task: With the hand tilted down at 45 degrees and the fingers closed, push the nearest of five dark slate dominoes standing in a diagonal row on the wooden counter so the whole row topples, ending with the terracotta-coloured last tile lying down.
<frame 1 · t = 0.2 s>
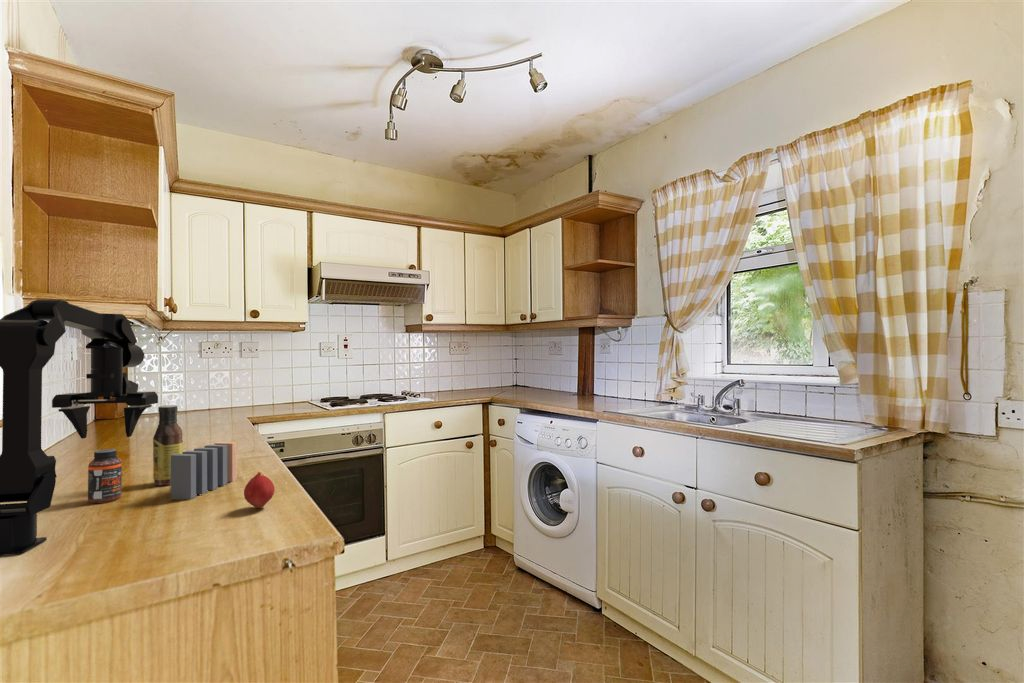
hand: (106, 437, 112), 14 cm above the counter, tool pointing down, fingers open, 9 cm apart
domino 5: (225, 481, 128), on the counter
domino 2: (195, 493, 117), on the counter
onion: (259, 509, 106), on the counter
domino 4: (215, 485, 124), on the counter
domino 3: (205, 489, 121), on the counter
supplement bottle: (105, 501, 113), on the counter
domino 1: (183, 498, 114), on the counter
sauce bottle: (168, 484, 126), on the counter
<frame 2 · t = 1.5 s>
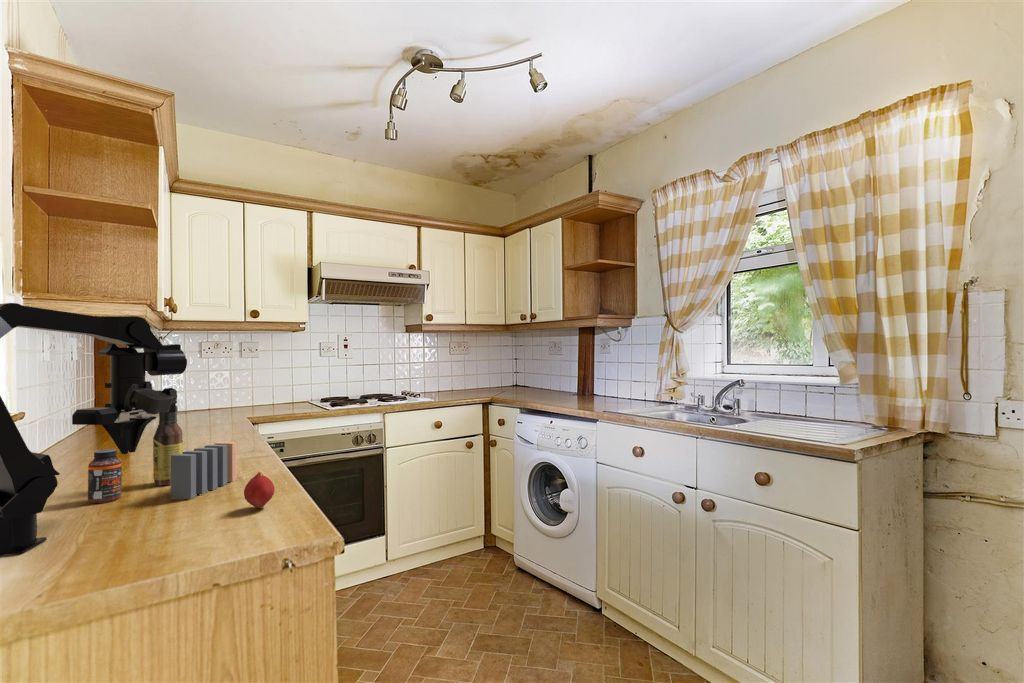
hand: (128, 453, 102), 13 cm above the counter, tool pointing down, fingers closed
nothing on the counter moved.
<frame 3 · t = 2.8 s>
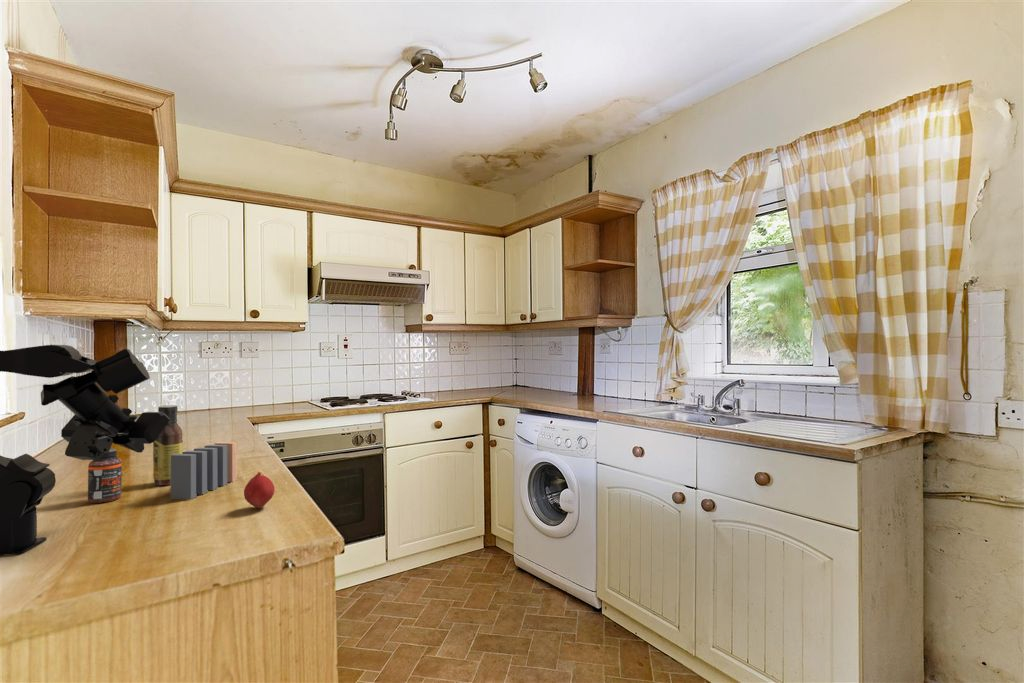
hand: (141, 450, 103), 13 cm above the counter, tool tilted 45°, fingers closed
nothing on the counter moved.
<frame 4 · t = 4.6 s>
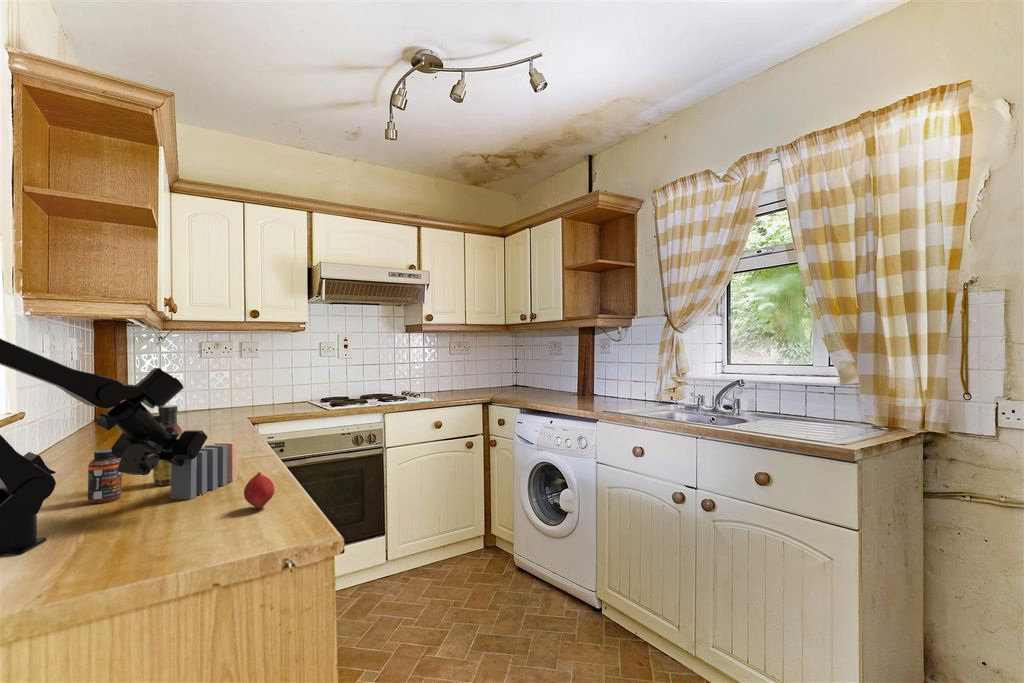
hand: (181, 464, 113), 8 cm above the counter, tool tilted 45°, fingers closed, pressing on domino 1
domino 1: (183, 498, 114), on the counter, touching gripper
everything else where it was.
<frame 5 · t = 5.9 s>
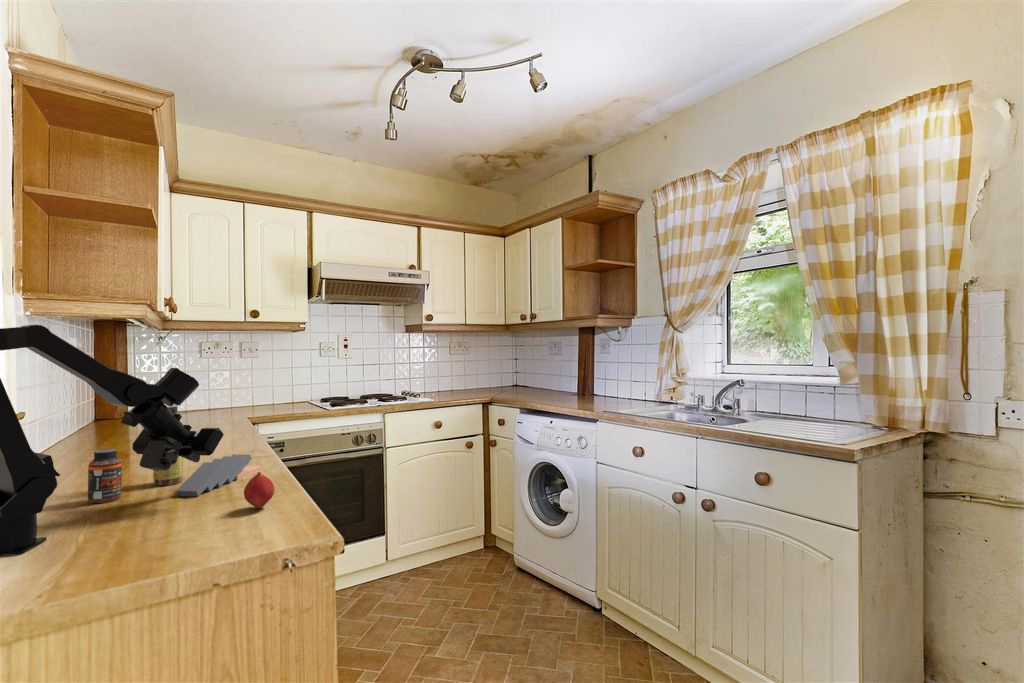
hand: (197, 460, 118), 8 cm above the counter, tool tilted 45°, fingers closed
domino 5: (228, 478, 129), on the counter, tilted 90°, touching domino 4
domino 2: (199, 488, 119), point 1 cm above the counter, tilted 64°, touching domino 1, domino 3
domino 4: (219, 480, 126), point 1 cm above the counter, tilted 67°, touching domino 3, domino 5
domino 3: (209, 484, 122), point 1 cm above the counter, tilted 64°, touching domino 2, domino 4
domino 1: (187, 493, 115), point 1 cm above the counter, tilted 64°, touching domino 2
everything else where it was.
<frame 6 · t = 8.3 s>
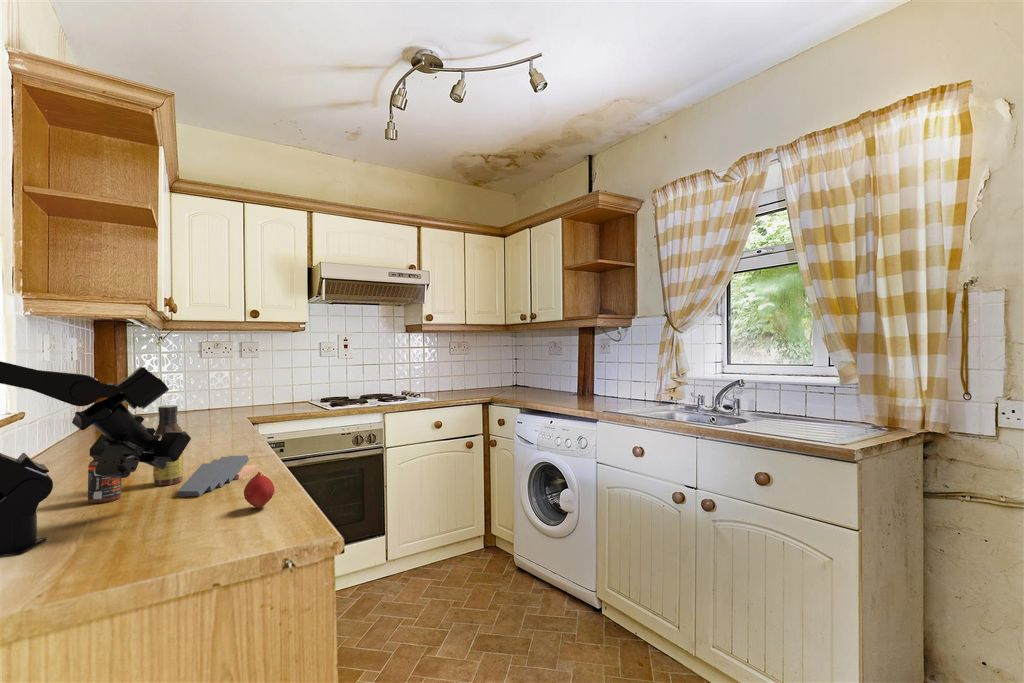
hand: (163, 467, 108), 8 cm above the counter, tool tilted 45°, fingers closed
domino 4: (219, 480, 126), point 1 cm above the counter, tilted 70°, touching domino 3, domino 5
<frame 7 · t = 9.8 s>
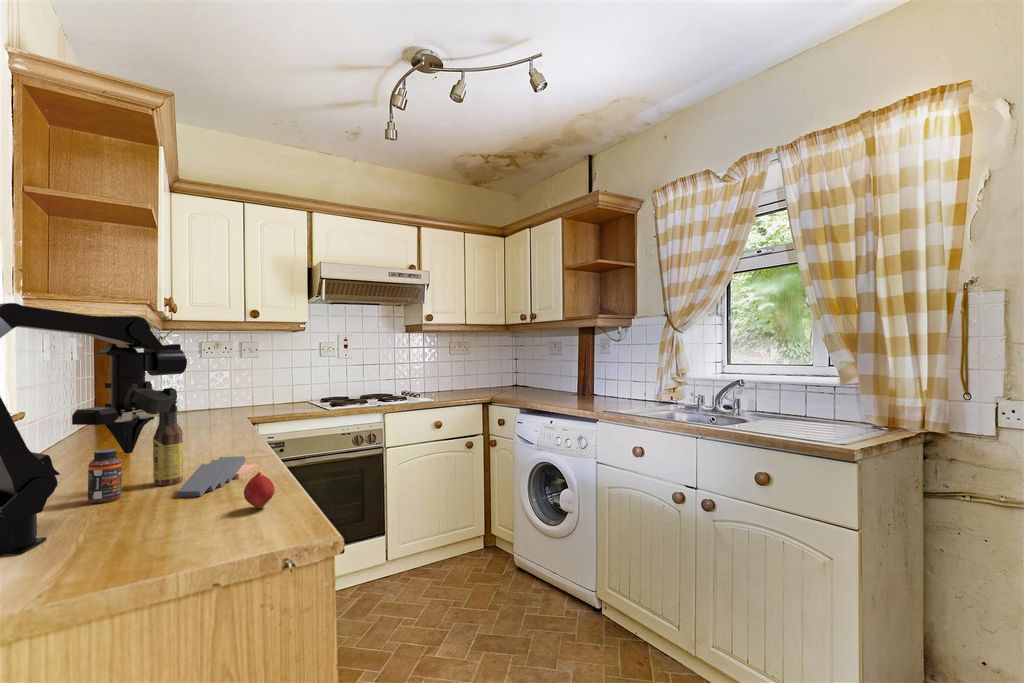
hand: (128, 453, 102), 13 cm above the counter, tool pointing down, fingers closed
domino 4: (218, 479, 126), point 1 cm above the counter, tilted 72°, touching domino 3, domino 5
domino 1: (189, 494, 114), point 1 cm above the counter, tilted 66°, touching domino 2
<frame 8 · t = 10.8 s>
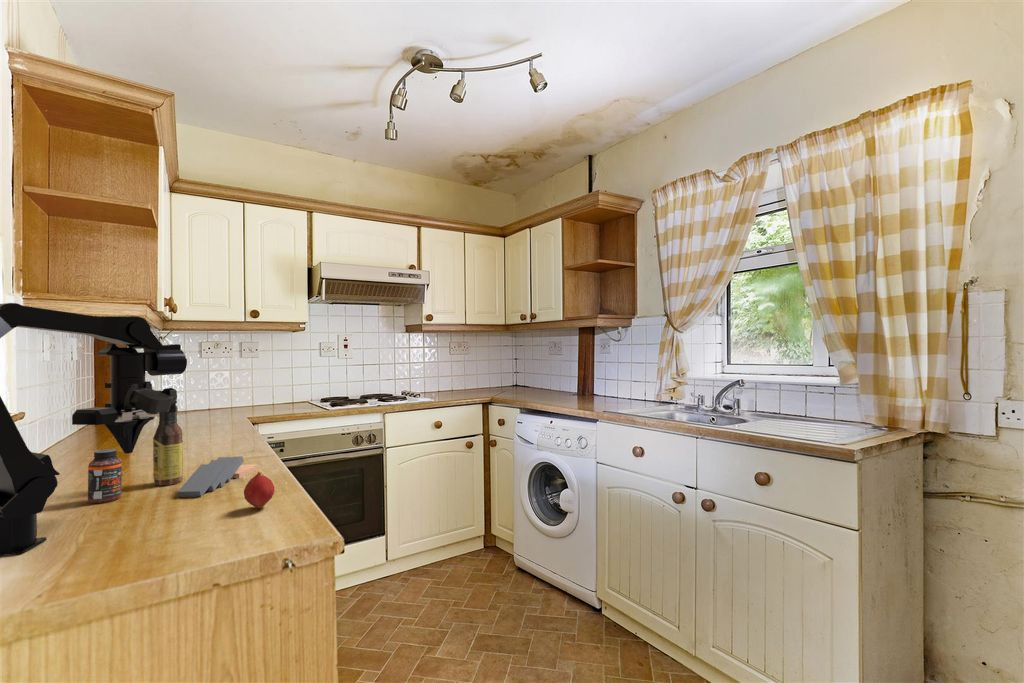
hand: (128, 453, 102), 13 cm above the counter, tool pointing down, fingers closed
at the end: domino 5 tilted 90°; domino 1 tilted 66° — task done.
